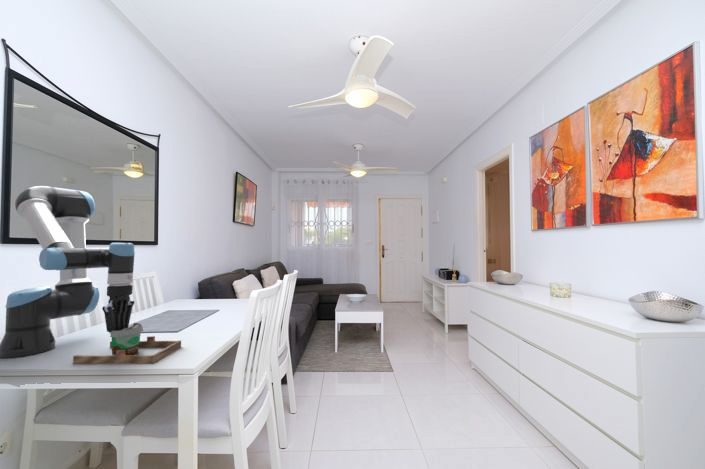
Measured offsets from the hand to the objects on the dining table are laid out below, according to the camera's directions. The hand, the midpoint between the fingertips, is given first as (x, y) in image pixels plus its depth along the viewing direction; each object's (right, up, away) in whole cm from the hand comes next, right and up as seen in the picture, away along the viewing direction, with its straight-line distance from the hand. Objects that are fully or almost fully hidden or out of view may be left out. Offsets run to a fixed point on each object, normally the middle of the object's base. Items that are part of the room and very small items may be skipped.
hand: (117, 349), depth 112 cm
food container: (+4, -2, +1) cm, 5 cm away
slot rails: (+4, -2, 0) cm, 5 cm away
